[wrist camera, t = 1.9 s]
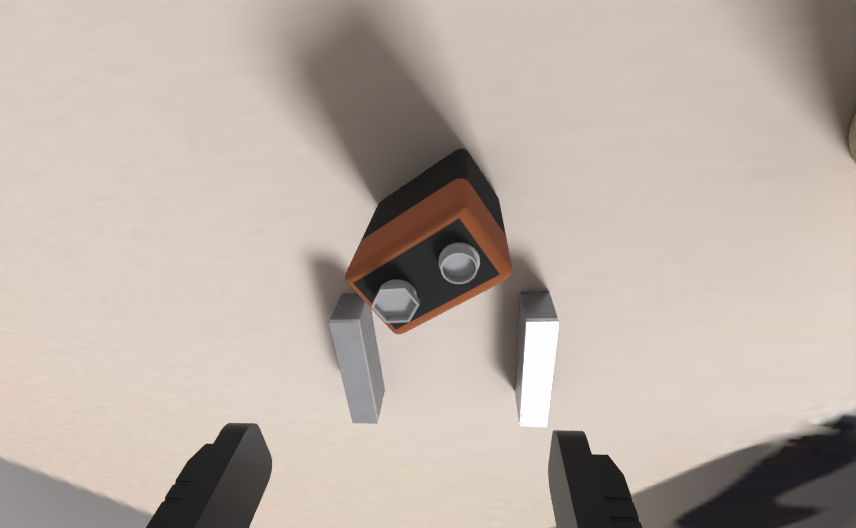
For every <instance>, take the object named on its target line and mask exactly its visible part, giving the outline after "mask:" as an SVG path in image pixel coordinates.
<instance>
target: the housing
mask: <svg viewBox="0 0 856 528" xmlns="http://www.w3.org/2000/svg"><path fill="white" fill-rule="evenodd" d="M558 324H559V321H558V318H557V315H556V312H555V308H554V305H553V302H552V299H551V296H550V292H520V309H519V327H518V345H517V364H516V382H515V396H516V403H517V410H518V418H519V425H520V426H532V427H547V419H548V410H549V402H550V393H551V385H552V376H553V367H554V359H555V350H556V342H557V333H558ZM329 326H330V330H331V334H332V338H333V343H334V347H335V351H336V355H337V359H338V364H339V368H340V372H341V376H342V380H343V384H344V389H345V393H346V397H347V401H348V405H349V410H350V414H351V418H352V422H353V423H378V419H379V414H380V410H381V405H382V400H383V396H384V391H385V389H384V383H383V377H382V371H381V365H380V360H379V354H378V348H377V342H376V336H375V330H374V324H373V318H372V313H371V308H370V307H369V306H368V304H367V303H366V302H365V301H364V300H363V299H362V298H361V297H360V296H359V295H358V294H342V295H341V297H340V300H339V302H338V304H337V306H336V309H335V311H334V313H333V315H332V318H331V320H330V322H329Z"/></svg>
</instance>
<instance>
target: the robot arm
mask: <svg viewBox="0 0 856 528" xmlns="http://www.w3.org/2000/svg"><path fill="white" fill-rule="evenodd" d="M271 470H272V458H271V455H270V452H269V450H268V447H267V445H266V442H265V440H264V438H263V435H262V433H261V430H260V428H259V426H258V425H257V424H252V423H228V424H227V425H225V426H224V427H223V429H222V430H221V432H220V433H219V435H218V437H217V438H216V440H215V442H214V444H205V445H204V446H203V447H202V448H201V449H200V450H199V451H198V452H197V453H196V454H195V455H194V456H193V457H192V458H190V459H189V460H188V462H187V463H186V465H185V466H184V468H183V470H182V471H181V473H180V474H179V476H178V478H177V479H176V483H175V485H173V486H172V487H171V489H170V490H169V492H168V493H167V495H166V497H165V501H164V502H162V503H161V505H160V506H159V508H158V509H157V511H156V513H155V514H154V516H153V517H152V519H151V520H150V522H149V524H148V526H147V527H146V528H249V526H250V524H251V521H252V519H253V517H254V514H255V512H256V510H257V507H258V505H259V503H260V500H261V498H262V496H263V493H264V491H265V489H266V486H267V484H268V482H269V479H270V475H271ZM548 476H549V487H550V493H551V499H552V504H553V510H554V515H555V521H556V526H557V528H642V526H641V523H640V522H639V517H638V514H637V511H636V508H635V506H634V503H633V502H632V497H631V494H630V491H629V489H628V486H627V483H626V480H625V477H624V475H623V473H622V472H621V471H620V470H619V468H618V467H617V466H616V464H615V463H614V462H613V461H612V459H611V458H610V457H609V456H608V455H594V454H591V451H590V447H589V444H588V440H587V437H586V435H585V433H584V432H583V431H556V430H554V431H553V434H552V441H551V449H550V457H549V465H548Z"/></svg>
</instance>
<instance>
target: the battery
mask: <svg viewBox="0 0 856 528" xmlns="http://www.w3.org/2000/svg"><path fill="white" fill-rule="evenodd" d="M511 273H512V266H511V260H510V255H509V250H508V245H507V239H506V234H505V229H504V224H503V218H502V213H501V208H500V203H499V199H498V197H497V195H496V194H495V192H494V191H493V189H492V188H491V186H490V185H489V183H488V182H487V180H486V179H485V177H484V176H483V174H482V173H481V171H480V170H479V168H478V167H477V165H476V164H475V162H474V160H473V159H472V157H471V156H470V154H469V153H468V152H467V151H466V150H465V149H459V150H456V151H455V152H453V153H452V154H450V155H449V156H447V157H446V158H444V159H443V160H441V161H440V162H438V163H437V164H435V165H434V166H432V167H431V168H429V169H428V170H426V171H425V172H424V173H422V174H421V175H419V176H418V177H416V178H415V179H413V180H412V181H410V182H409V183H407V184H406V185H404V186H403V187H401V188H400V189H399V190H397V191H396V192H394V193H393V194H391V195H390V196H388V197H387V198H385V199H384V200H382V201H381V202H380V203H379V204H378V206H377V208H376V210H375V212H374V215H373V217H372V219H371V221H370V223H369V225H368V227H367V229H366V232H365V234H364V236H363V238H362V240H361V242H360V244H359V246H358V249H357V251H356V253H355V255H354V257H353V259H352V261H351V263H350V266H349V268H348V270H347V272H346V275H345V279H346V281H347V283H348V284H349V285H350V286H351V287H352V288H353V289H354V290H355V291H356V293H357V294H358V295H359V296H360V297H361V298H362V299H363V300H364V301H365V302H366V303H367V304H368V306H369V307H370V308H371V309H372V310H373V311H374V312H375V313H376V314H377V315H378V316H379V317H380V318H381V320H382V321H383V322H384V323H385V324H386V325H387V326H388V327H389V328H390V329H391V330H392V331H393V332H394V333H396V334H402V333H405V332H407V331H409V330H411V329H413V328H415V327H417V326H419V325H420V324H422V323H424V322H426V321H428V320H430V319H432V318H434V317H436V316H438V315H440V314H442V313H443V312H445V311H447V310H449V309H451V308H453V307H455V306H457V305H459V304H461V303H463V302H465V301H466V300H468V299H470V298H472V297H474V296H476V295H478V294H480V293H482V292H484V291H486V290H488V289H490V288H491V287H493V286H495V285H497V284H499V283H501V282H503V281H504V280H506V279H508V278H509V277H510V275H511Z"/></svg>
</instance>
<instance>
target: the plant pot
mask: <svg viewBox="0 0 856 528" xmlns="http://www.w3.org/2000/svg"><path fill="white" fill-rule="evenodd" d="M849 149H850V153H851V156H852V158H853V160H854V162H855V163H856V113H855V115H854V117H853V120H852V123H851V127H850V132H849Z"/></svg>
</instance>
